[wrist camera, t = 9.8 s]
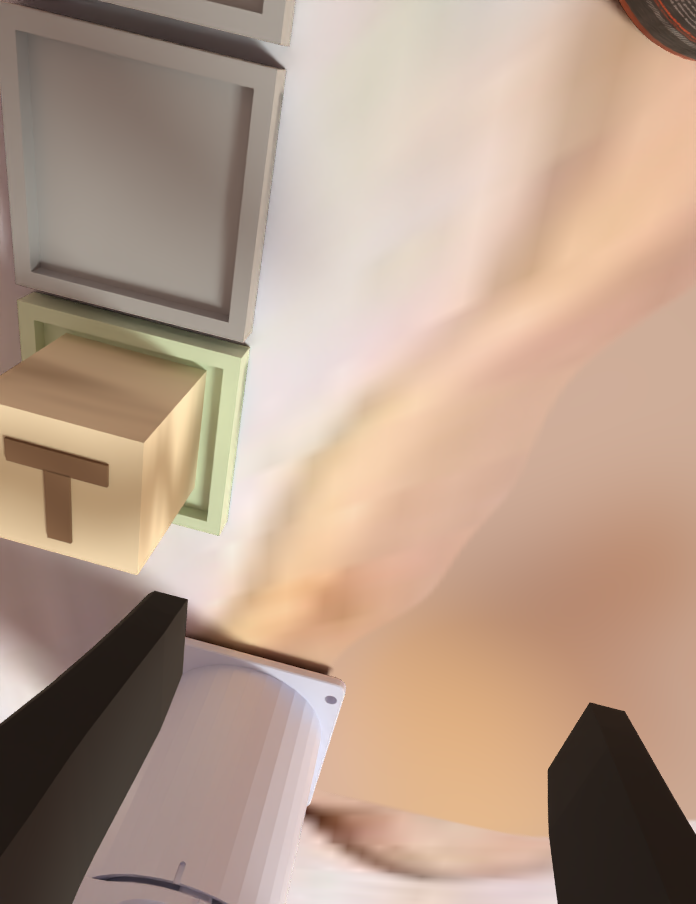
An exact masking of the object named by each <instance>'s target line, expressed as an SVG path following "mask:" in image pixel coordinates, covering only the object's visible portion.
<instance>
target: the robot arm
mask: <svg viewBox="0 0 696 904" xmlns="http://www.w3.org/2000/svg"><path fill="white" fill-rule="evenodd" d="M187 603H188V599H184V598H180V597H176V596H172V595H169V594H165V593H161V592H157V591H154V592H152V593H150V594H148V595H147V596H146V597H145V598H144V599H143V600H142V601H141V602H140V603H139V604H138V605H137V606H136V607H135V608H134V609H133V610H132V611H131V612H130V613H129V614H128V615H127V616H126V617H125V618H124V619H123V620H122V621H121V622H120V623H119V624H118V625H117V626H115V627H114V628H113V629H112V630H111V631H110V632H109V633H108V634H107V635H106V636H105V637H104V638H103V639H101V640H100V641H99V642H98V643H97V644H96V645H95V646H94V647H93V648H92V649H90V650H89V651H88V652H87V653H86V654H85V655H84V656H82V657H81V658H80V659H79V660H78V661H77V662H75V663H74V664H73V665H72V666H71V667H70V668H68V669H67V670H66V671H65V672H64V673H63V674H62V675H60V676H59V677H58V678H57V679H56V680H55V681H53V682H52V683H51V684H50V685H49V686H47V687H46V688H45V689H44V690H42V691H41V692H40V693H39V694H37V695H36V696H35V697H34V698H32V699H31V700H30V701H28V702H27V703H26V704H25V705H23V706H22V707H21V708H20V709H18V710H17V711H16V712H14V713H13V714H12V715H11V716H9V717H8V718H7V719H6V720H4V721H3V722H2V723H0V904H286V900H287V896H288V891H289V886H290V882H291V877H292V872H293V868H294V863H295V858H296V854H297V849H298V844H299V840H300V835H301V830H302V826H303V821H304V816H305V812H306V807H307V806H308V805H309V804H310V802H311V799H312V796H313V793H314V790H315V786H316V783H317V780H318V777H319V774H320V771H321V768H322V764H323V761H324V758H325V755H326V752H327V749H328V746H329V743H330V739H331V736H332V733H333V730H334V727H335V724H336V721H337V717H338V714H339V711H340V708H341V705H342V702H343V699H344V695H345V690H346V685H345V683H344V682H343V681H342V680H340V679H338V678H335V677H331V676H328V675H324V674H321V673H317V672H313V671H310V670H306V669H302V668H298V667H295V666H291V665H287V664H284V663H280V662H276V661H273V660H269V659H265V658H262V657H258V656H254V655H250V654H247V653H243V652H239V651H236V650H232V649H228V648H225V647H221V646H217V645H213V644H210V643H206V642H202V641H199V640H195V639H191V638H188V637H185V632H186V618H187ZM548 823H549V839H550V847H551V855H552V863H553V871H554V879H555V886H556V894H557V901H558V904H696V834H695V832H694V831H693V829H692V827H691V826H690V824H689V822H688V821H687V819H686V817H685V816H684V814H683V812H682V811H681V809H680V807H679V805H678V804H677V802H676V800H675V799H674V797H673V795H672V793H671V792H670V790H669V788H668V787H667V785H666V783H665V781H664V779H663V778H662V776H661V774H660V772H659V771H658V769H657V767H656V766H655V764H654V762H653V760H652V758H651V757H650V755H649V753H648V751H647V750H646V748H645V746H644V744H643V742H642V741H641V739H640V737H639V735H638V734H637V732H636V730H635V729H634V727H633V725H632V723H631V722H630V720H629V718H628V716H627V715H626V713H625V711H621V710H617V709H613V708H609V707H605V706H601V705H597V704H594V703H589V705H588V706H587V708H586V709H585V711H584V712H583V714H582V716H581V717H580V719H579V720H578V722H577V724H576V725H575V727H574V728H573V730H572V732H571V733H570V735H569V736H568V738H567V740H566V741H565V743H564V745H563V746H562V748H561V749H560V751H559V752H558V754H557V756H556V757H555V759H554V761H553V762H552V764H551V765H550V767H549V769H548Z"/></svg>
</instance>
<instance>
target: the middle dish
mask: <svg viewBox="0 0 696 904" xmlns="http://www.w3.org/2000/svg"><path fill="white" fill-rule="evenodd" d="M285 77H286V70H284V69H280V68H276V67H272V66H268V65H264V64H260V63H256V62H252V61H248V60H243V59H239V58H235V57H231V56H227V55H223V54H219V53H215V52H211V51H207V50H203V49H199V48H195V47H191V46H186V45H182V44H178V43H174V42H170V41H166V40H162V39H158V38H154V37H150V36H146V35H142V34H138V33H134V32H129V31H125V30H121V29H117V28H113V27H109V26H105V25H101V24H97V23H93V22H89V21H85V20H81V19H77V18H72V17H68V16H64V15H60V14H56V13H52V12H48V11H44V10H40V9H36V8H32V7H28V6H24V5H20V4H15V3H9V2H3V1H0V90H1V103H2V116H3V128H4V141H5V154H6V167H7V180H8V192H9V205H10V218H11V231H12V243H13V256H14V269H15V282H16V284H17V285H21V286H25V287H29V288H32V289H36V290H40V291H44V292H48V293H52V294H56V295H60V296H64V297H67V298H71V299H75V300H79V301H83V302H87V303H91V304H95V305H98V306H102V307H106V308H110V309H114V310H118V311H122V312H126V313H130V314H133V315H137V316H141V317H145V318H149V319H153V320H157V321H161V322H164V323H168V324H172V325H176V326H180V327H184V328H188V329H192V330H195V331H199V332H203V333H207V334H211V335H215V336H219V337H223V338H227V339H230V340H234V341H238V342H242V343H244V341H245V340H246V339H247V338H248V337H249V335H250V334H251V333H252V328H253V321H254V313H255V306H256V298H257V290H258V283H259V275H260V267H261V260H262V252H263V245H264V237H265V229H266V222H267V214H268V206H269V199H270V191H271V184H272V176H273V168H274V161H275V153H276V145H277V138H278V130H279V123H280V115H281V107H282V100H283V92H284V84H285Z"/></svg>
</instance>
